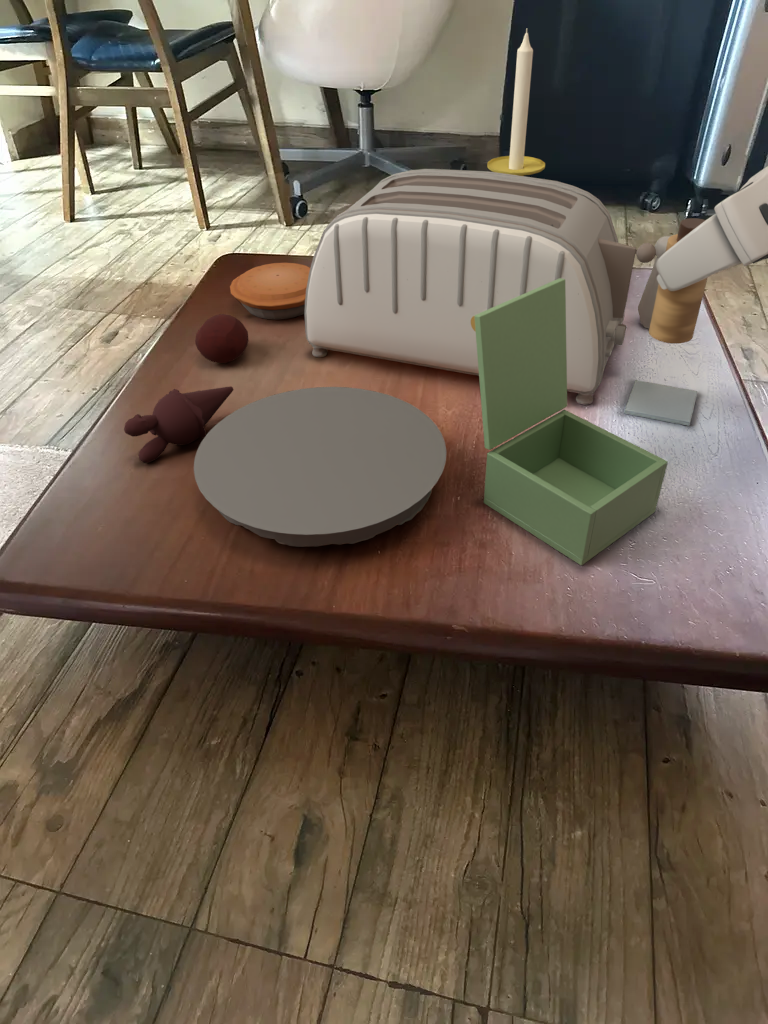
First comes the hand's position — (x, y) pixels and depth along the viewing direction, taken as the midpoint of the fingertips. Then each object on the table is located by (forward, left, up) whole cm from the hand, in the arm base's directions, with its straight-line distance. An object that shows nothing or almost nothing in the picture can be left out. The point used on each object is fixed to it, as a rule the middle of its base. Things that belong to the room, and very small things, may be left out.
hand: (679, 274), depth 88 cm
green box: (+5, +22, -18) cm, 29 cm away
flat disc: (+32, +28, -19) cm, 47 cm away
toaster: (+26, -8, -19) cm, 33 cm away
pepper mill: (-1, 0, -7) cm, 7 cm away
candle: (+27, -28, -19) cm, 43 cm away
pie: (+60, -12, -19) cm, 64 cm away
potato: (+59, +6, -19) cm, 62 cm away
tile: (-1, -3, -18) cm, 19 cm away
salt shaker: (+3, -26, -19) cm, 32 cm away
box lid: (+12, +19, -4) cm, 23 cm away
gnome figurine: (+52, +26, -19) cm, 61 cm away
